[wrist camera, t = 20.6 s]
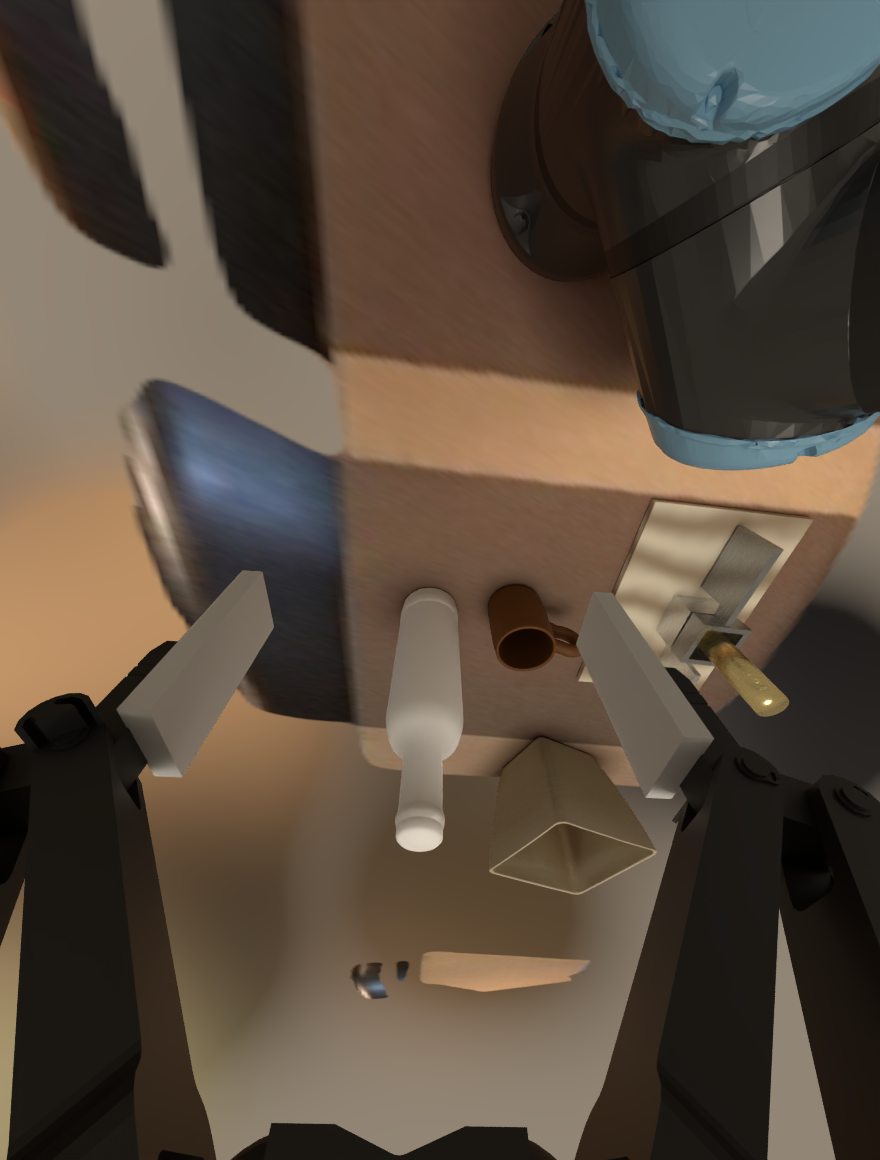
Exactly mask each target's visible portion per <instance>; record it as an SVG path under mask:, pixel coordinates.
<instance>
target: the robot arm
mask: <svg viewBox="0 0 880 1160" xmlns="http://www.w3.org/2000/svg"><path fill="white" fill-rule="evenodd" d="M491 189H492V198H493V203H494V208H495V213H496V216H497V220H498V223H499V226H500V228H501V231H502V233H503V235H504V238H505V239H506V241H507V243H508V245H509V246H510V248H511V250H512V251H513V252H514V254H515V255H516V256H517V257H518V259H519V260H520V261H521V262H522V263H523V264H524V265H526V266H527V267H528V268H529V269H531V270H532V271H534V272H535V273H537V274H539V275H541V276H543V277H546V278H549V279H552V280H557V281H578V280H584V279H587V278H590V277H593V276H596V275H598V274H600V273H602V272H604V271H606V270H608V269H609V273H610V280H611V284H612V288H613V291H614V295H615V299H616V303H617V307H618V311H619V315H620V319H621V323H622V327H623V330H624V334H625V338H626V342H627V346H628V350H629V354H630V358H631V362H632V366H633V370H634V373H635V377H636V381H637V385H638V391H637V399H638V403H639V407H640V408H641V410H642V411H643V413H644V414H645V416H646V418H647V421H648V425H649V428H650V431H651V434H652V437H653V440H654V442H655V443H656V445H657V446H658V447H659V448H660V449H661V450H662V451H663V452H664V454H666V455H667V456H668V457H670V458H671V459H674V460H676V461H678V462H680V463H683V464H685V465H689V466H693V467H698V468H703V469H713V470H751V469H761V468H769V467H775V466H780V465H785V464H790V463H793V462H794V461H795V460H796V458H797V456H812V457H817V456H819V455H822V454H825V453H828V452H830V451H833V450H835V449H838V448H840V447H842V446H844V445H846V444H848V443H850V442H851V441H853V440H854V439H856V438H857V437H859V436H860V435H862V434H863V433H865V432H866V431H867V430H868V429H869V428H870V427H871V426H872V425H873V423H874V422H875V421H876V419H877V418H878V417H879V416H880V0H563V3H562V6H561V9H560V12H558V13H557V14H556V15H555V16H554V17H553V18H552V19H551V20H550V21H549V22H548V23H547V24H546V25H545V26H544V27H543V28H542V30H541V31H540V32H539V33H538V35H537V36H536V37H535V39H534V40H533V41H532V43H531V44H530V46H529V47H528V49H527V50H526V52H525V54H524V55H523V57H522V59H521V61H520V62H519V64H518V66H517V68H516V70H515V72H514V74H513V77H512V79H511V81H510V84H509V86H508V89H507V92H506V94H505V97H504V100H503V104H502V107H501V111H500V115H499V119H498V123H497V127H496V131H495V136H494V141H493V148H492V157H491ZM273 628H274V625H273V620H272V616H271V611H270V606H269V601H268V596H267V592H266V587H265V582H264V577H263V572H259V571H242V572H241V573H240V574H239V575H238V576H237V577H236V578H235V579H234V580H233V582H232V583H231V584H230V585H229V586H228V587H227V588H226V589H225V590H224V591H223V593H222V594H221V595H220V596H219V597H218V598H217V599H216V600H215V601H214V602H213V603H212V605H211V606H210V607H209V608H208V609H207V610H206V611H205V612H204V613H203V614H202V616H201V617H200V618H199V619H198V620H197V621H196V622H195V623H194V624H193V625H192V627H191V628H190V629H189V630H188V631H187V632H186V633H185V634H184V635H183V637H182V638H181V639H180V640H179V641H166V642H164V643H163V644H161V645H160V646H158V647H156V648H155V649H153V650H151V651H150V652H149V653H148V654H147V655H146V656H145V657H144V658H143V659H142V660H141V661H140V662H139V663H138V666H136V667H134V668H133V670H131V672H130V673H129V674H128V676H127V677H125V678H124V679H123V680H122V681H121V682H120V683H119V684H118V685H117V686H116V687H115V688H114V689H113V690H112V691H111V692H110V693H109V694H108V695H107V696H106V697H105V698H104V699H103V700H102V701H101V702H100V703H99V704H98V706H96V707H95V706H94V704H93V703H92V701H91V699H90V698H89V696H87V695H84V694H82V693H69V694H65V695H61V696H57V697H54V698H52V699H50V700H47V701H45V702H42V703H40V704H39V705H37V706H36V707H34V708H33V709H31V710H29V711H28V712H27V713H26V714H25V715H24V716H23V717H22V718H21V719H20V720H19V721H18V723H17V725H16V727H15V729H14V730H15V732H16V733H17V734H18V735H19V736H20V738H21V739H22V740H23V741H24V743H25V744H20V745H15V746H10V747H5V748H0V945H1V943H2V940H3V938H4V934H5V932H6V929H7V926H8V924H9V920H10V918H11V915H12V912H13V910H14V907H15V904H16V901H17V898H18V896H19V893H20V890H21V887H22V884H23V882H24V879H25V887H24V904H23V920H22V937H21V953H20V969H19V985H18V986H19V987H18V1001H17V1002H18V1003H17V1018H16V1035H15V1051H14V1067H13V1083H12V1099H11V1115H10V1132H9V1147H8V1154H7V1160H216V1155H215V1150H214V1145H213V1140H212V1134H211V1130H210V1125H209V1121H208V1117H207V1114H206V1111H205V1107H204V1104H203V1102H202V1099H201V1097H200V1095H199V1092H198V1090H197V1087H196V1083H195V1080H194V1075H193V1071H192V1065H191V1060H190V1054H189V1049H188V1043H187V1037H186V1032H185V1026H184V1021H183V1015H182V1009H181V1003H180V998H179V992H178V986H177V981H176V975H175V970H174V965H173V959H172V953H171V947H170V942H169V936H168V930H167V924H166V919H165V913H164V907H163V902H162V896H161V891H160V885H159V879H158V874H157V868H156V863H155V857H154V852H153V845H152V840H151V834H150V829H149V823H148V817H147V812H146V806H145V800H144V795H143V789H142V784H141V782H140V780H139V778H138V776H139V774H140V773H141V771H142V770H143V768H144V767H145V766H146V764H148V766H149V768H150V769H151V771H152V773H153V775H154V776H165V777H183V775H184V774H185V772H186V770H187V769H188V767H189V766H190V764H191V762H192V761H193V759H194V757H195V756H196V754H197V752H198V751H199V749H200V747H201V746H202V744H203V742H204V741H205V739H206V738H207V736H208V734H209V733H210V731H211V729H212V728H213V726H214V725H215V723H216V721H217V720H218V718H219V716H220V715H221V713H222V711H223V710H224V708H225V706H226V705H227V703H228V702H229V700H230V698H231V697H232V695H233V693H234V692H235V690H236V688H237V687H238V685H239V684H240V682H241V680H242V679H243V677H244V675H245V674H246V672H247V670H248V669H249V667H250V666H251V664H252V662H253V661H254V659H255V657H256V656H257V654H258V652H259V651H260V649H261V647H262V646H263V644H264V643H265V641H266V639H267V638H268V636H269V634H270V633H271V631H272V629H273ZM576 645H577V648H578V650H579V652H580V654H581V656H582V659H583V661H584V663H585V665H586V667H587V670H588V672H589V674H590V676H591V679H592V681H593V683H594V685H595V687H596V690H597V692H598V694H599V696H600V698H601V701H602V703H603V705H604V707H605V709H606V712H607V714H608V716H609V718H610V720H611V723H612V725H613V727H614V729H615V731H616V734H617V736H618V738H619V740H620V742H621V745H622V747H623V749H624V751H625V753H626V756H627V758H628V760H629V762H630V765H631V767H632V769H633V771H634V773H635V776H636V778H637V780H638V782H639V784H640V787H641V789H642V791H643V793H644V795H645V797H646V798H665V799H672V797H673V796H674V795H675V793H676V792H677V790H678V789H679V788H680V787H681V789H682V791H683V793H684V795H685V796H686V798H687V801H686V802H685V804H684V805H683V806H682V808H681V809H680V811H679V812H678V813H677V814H676V816H675V817H674V819H673V820H672V821H673V822H675V823H677V822H678V825H677V829H676V832H675V835H674V839H673V842H672V846H671V850H670V853H669V857H668V860H667V864H666V867H665V871H664V874H663V878H662V882H661V885H660V889H659V892H658V896H657V899H656V903H655V906H654V910H653V914H652V917H651V920H650V924H649V927H648V931H647V934H646V938H645V941H644V945H643V949H642V952H641V956H640V959H639V962H638V966H637V970H636V973H635V977H634V980H633V984H632V987H631V991H630V994H629V998H628V1001H627V1005H626V1009H625V1012H624V1016H623V1019H622V1023H621V1026H620V1030H619V1033H618V1037H617V1040H616V1044H615V1047H614V1051H613V1054H612V1058H611V1062H610V1065H609V1068H608V1072H607V1075H606V1079H605V1082H604V1085H603V1088H602V1091H601V1093H600V1096H599V1098H598V1099H597V1101H596V1103H595V1105H594V1107H593V1109H592V1111H591V1113H590V1115H589V1118H588V1120H587V1122H586V1125H585V1128H584V1131H583V1134H582V1137H581V1140H580V1143H579V1147H578V1150H577V1153H576V1157H575V1160H767V1152H768V1131H769V1109H770V1088H771V1087H770V1086H771V1066H772V1046H773V1024H774V1022H773V1021H774V1003H775V981H776V960H777V938H778V918H779V909H780V913H781V918H782V922H783V927H784V931H785V936H786V940H787V945H788V949H789V953H790V958H791V962H792V967H793V971H794V975H795V980H796V984H797V989H798V994H799V998H800V1002H801V1007H802V1011H803V1016H804V1020H805V1025H806V1029H807V1034H808V1038H809V1043H810V1047H811V1051H812V1056H813V1060H814V1065H815V1069H816V1074H817V1078H818V1083H819V1087H820V1092H821V1096H822V1101H823V1105H824V1109H825V1114H826V1118H827V1123H828V1127H829V1132H830V1136H831V1141H832V1145H833V1150H834V1154H835V1158H836V1160H880V802H879V801H878V800H877V799H876V798H874V797H873V796H872V795H871V794H870V793H869V792H867V791H866V790H864V789H863V788H861V787H860V786H858V785H857V784H855V783H853V782H851V781H848V780H847V779H845V778H842V777H838V776H834V775H822V777H820V778H819V779H818V780H817V781H816V782H815V783H814V784H810V783H807V782H804V781H801V780H798V779H795V778H791V777H788V776H785V775H782V774H779V772H778V771H777V770H776V768H775V767H774V766H773V765H772V764H771V763H770V762H768V761H767V760H766V759H765V758H763V757H762V756H760V755H759V754H757V753H755V752H753V751H751V750H748V749H746V748H743V747H740V746H739V745H738V743H737V742H736V741H735V739H734V738H733V737H732V735H731V734H730V733H729V731H728V730H727V729H726V727H725V726H724V725H723V723H722V722H721V721H720V719H719V718H718V717H717V715H716V714H715V713H714V711H713V710H712V709H711V707H710V706H708V705H707V704H708V703H707V702H706V701H705V699H704V698H703V697H702V695H700V694H699V691H698V690H697V689H696V687H695V686H694V685H693V683H692V682H691V681H690V679H688V678H687V677H686V676H685V675H683V674H682V673H681V672H680V671H679V670H677V669H676V668H671V667H664V666H663V665H662V663H661V662H660V660H659V659H658V658H657V656H656V655H655V653H654V652H653V650H652V649H651V648H650V646H649V645H648V643H647V642H646V640H645V639H644V638H643V636H642V635H641V633H640V632H639V630H638V629H637V628H636V626H635V625H634V623H633V622H632V620H631V619H630V618H629V616H628V615H627V613H626V612H625V610H624V609H623V608H622V606H621V605H620V603H619V602H618V600H617V599H616V597H615V596H614V595H613V593H606V592H593V595H592V598H591V601H590V604H589V607H588V610H587V613H586V616H585V619H584V622H583V625H582V627H581V630H580V633H579V636H578V639H577V642H576ZM231 1160H556V1159H555V1158H554V1157H553V1156H552V1155H551V1154H550V1153H548V1152H547V1151H546V1150H544V1149H543V1148H541V1147H540V1146H539V1145H537V1144H536V1143H534V1142H532V1141H530V1140H528V1133H527V1128H525V1127H524V1128H523V1127H468V1126H465V1127H463V1128H461V1129H459V1130H457V1131H454V1132H452V1133H450V1134H448V1135H446V1136H444V1137H442V1138H439V1139H437V1140H435V1141H433V1142H431V1143H429V1144H427V1145H424V1146H422V1147H420V1148H418V1149H416V1150H414V1151H411V1152H409V1153H407V1154H404V1155H400V1156H399V1155H394V1154H391V1153H389V1152H388V1151H386V1150H384V1149H382V1148H380V1147H378V1146H376V1145H374V1144H372V1143H370V1142H368V1141H366V1140H364V1139H362V1138H361V1137H358V1136H357V1135H355V1134H353V1133H351V1132H349V1131H347V1130H345V1129H343V1128H341V1127H339V1126H337V1125H335V1124H292V1123H271V1128H270V1132H269V1135H268V1136H266V1137H263V1138H262V1139H259V1140H258V1141H256V1142H254V1143H253V1144H251V1145H250V1146H248V1147H246V1148H245V1149H243V1150H242V1151H241V1152H239V1153H238V1154H237V1155H236V1156H235V1157H233V1158H232V1159H231Z"/></svg>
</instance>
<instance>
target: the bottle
mask: <svg viewBox="0 0 880 1160" xmlns="http://www.w3.org/2000/svg"><path fill="white" fill-rule="evenodd" d="M386 729H387V734H388V738H389V742H390V746H391V747H392V749H393V750H394V752H395V753H396V754H397V755H398V756H399V757H400V758H402V759H403V765H402V777H401V786H400V797H399V807H398V812H397V814H396V818H395V823H396V828H397V830H396V840H397V842H398V843H399V844H400V845H401V846H402V847H404V848H405V849H407V850H411V851H419V852H421V851H429V850H432V849H434V848H436V847H437V846H438V845H439V844H440V843H441V842H442V839H443V828H444V823H445V817H444V814H443V791H442V790H443V788H442V787H443V782H442V781H443V780H442V779H443V760H445V759H446V758H447V757H449V756H450V755H451V754H453V752H454V751H455V749H456V748H457V745H458V743H459V740H460V737H461V734H462V730H463V706H462V689H461V672H460V654H459V637H458V612H457V606H456V604H455V601H454V599H453V598H452V597H451V596H450V595H449V594H448V593H446V592H444V591H442V590H440V589H436V588H422V589H419V590H417V591H415V592H412V593H411V594H410V595H409V596H408V597H407V598H406V600H405V602H404V605H403V609H402V612H401V623H400V629H399V636H398V642H397V649H396V655H395V662H394V668H393V675H392V681H391V688H390V695H389V701H388V708H387V714H386Z"/></svg>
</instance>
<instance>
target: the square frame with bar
mask: <svg viewBox="0 0 880 1160" xmlns="http://www.w3.org/2000/svg"><path fill="white" fill-rule="evenodd" d="M783 550H784V549H782V548H781V547H779V546H777V545H775V544H774V543H772V542H770V541H768V540H767V539H765V538H763V537H762V536H760V535H758V534H756V533H755V532H753V531H751V530H749V529H748V528H746V527H744V526H738V527H737V529H736V531H735V532H734V534H733V536H732V537H731V539H730V540H729V542H728V544H727V545H726V547H725V549H724V550H723V552H722V554H721V555H720V557H719V559H718V560H717V562H716V564H715V565H714V567H713V569H712V570H711V572H710V574H709V575H708V577H707V579H706V580H705V582H704V584H703V585H702V587H701V588H702V589H704V590H705V591H706V592H707V593H708V594H709V595H710V596H711V597H712V598H713V599H715V600H716V601H717V602H718V603H719V604H720V605H719V607H718V608H717V610H716V611H715V613H714V615H707V614H699V613H693V614H692V615H691V617H690V619H689V620H688V622H687V623H686V625H685V627H684V628H683V630H682V632H681V633H680V635H679V636H678V638H677V640H676V641H675V643H674V645H673V646H672V648H671V651H672V652H673V653H674V655H675V656H676V657H677V658H678V660H679V661H680V662H681V663H690V664H698V665H707V666H715V665H714V664H713V663H712V662H711V661H710V660H709V658H708V657H707V656H706V655H705V654H704V653H703V652H702V650H701V649H698V648H696V647H697V645H698V644H699V642H700V641H701V639H702V637H703V636H704V634H705V633H706V631H707V630H710V631H718V632H723V634H724V635H725V636H726V637H727V638H728V639H729V640H730V641H731V642H732V643H733V644H734V645H735V646H736V647H737V648H738V649H739V648H740V647H741V646H742V644H743V643H744V642H745V640H746V639H747V638H748V636H749V635H750V633H751V632H752V630H751V629H750V628H748V627H747V626H746V625H745V624H744V623H743V622H742V621H741V620H740V619H738V618H737V616H738V615H739V613H740V612H741V611H742V609H743V608H744V606H745V605H746V603H747V602H748V601H749V599H750V598H751V596H752V595H753V593H754V592H755V591H756V589H757V588H758V586H759V585H760V583H761V582H762V581H763V579H764V578H765V576H766V575H767V573H768V572H769V570H770V569H771V568H772V566H773V565H774V563H775V562H776V560H777V559H778V558H779V556H780V555H781V553H782V552H783ZM715 667H716V666H715Z"/></svg>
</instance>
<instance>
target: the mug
mask: <svg viewBox="0 0 880 1160" xmlns="http://www.w3.org/2000/svg"><path fill="white" fill-rule="evenodd" d="M488 616H489V622H490V629H491V634H492V640H493V645H494V649H495V652H496V655H497V658H498V660H499V661H500V662H501V663H502V664H503V665H504V666H505V667H507V668H509V669H512V670H516V671H530V670H534V669H537V668H540V667H542V666H543V665H545V664H546V663H548V662H549V661H550V660H551V658H552V657H553V655H554V653H555V652H556V653H559V654H561V655H564V656H567V657H578V656H581V654H580V652H579V650H578V648H577V645H576V642H577V639H578V636H579V635H578V634H577V633H576V632H574V631H572V630H570V629H568V628H566V627H562V626H557V625H555V624H553V623H551V622H549V619H548V617H547V614H546V612H545V610H544V607H543V605H542V602H541V600H540V598H539V596H538V595H537V594H536V593H535V592H534V591H533V590H532V589H530V588H528V587H525V586H521V585H512V586H507V587H504V588H502V589H500V590H499V591H498V592H496V593H495V594H494V595H493V597H492V598H491V600H490V602H489V605H488ZM555 638H558V639H563V640H565V641H567V642H568V643H570V644H568V643H565V642H563V641H560V640H557V639H555Z"/></svg>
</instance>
